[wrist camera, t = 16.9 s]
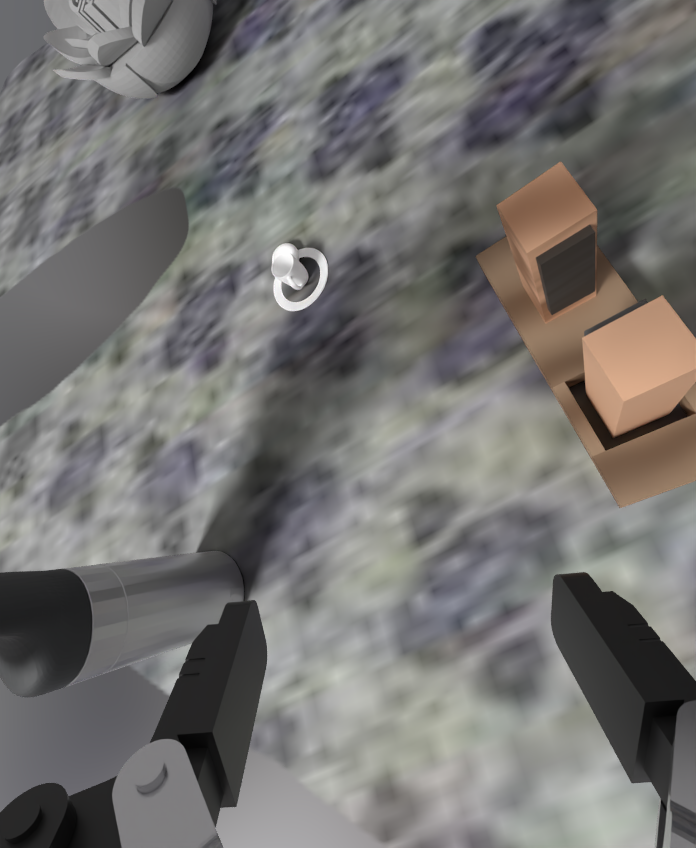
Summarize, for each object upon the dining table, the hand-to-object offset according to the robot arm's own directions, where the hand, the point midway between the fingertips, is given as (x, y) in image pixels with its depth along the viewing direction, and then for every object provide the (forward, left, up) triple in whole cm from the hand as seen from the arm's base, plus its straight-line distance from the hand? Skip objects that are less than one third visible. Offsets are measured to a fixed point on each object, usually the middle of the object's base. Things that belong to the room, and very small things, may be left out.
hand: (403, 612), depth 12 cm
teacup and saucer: (-29, +26, -28) cm, 48 cm away
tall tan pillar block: (+5, +12, -28) cm, 31 cm away
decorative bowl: (-65, +64, -28) cm, 96 cm away
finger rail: (+2, +16, -28) cm, 32 cm away
